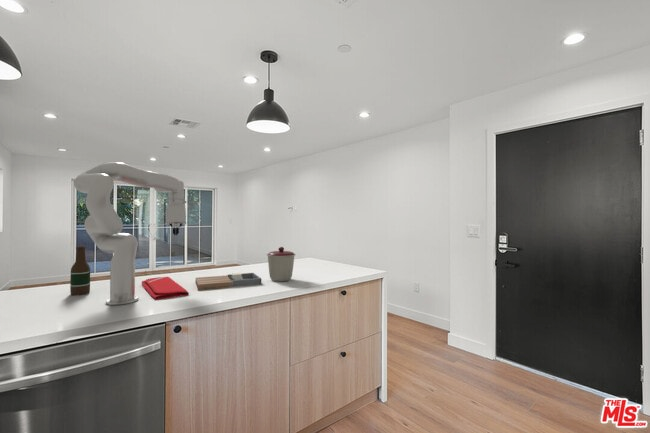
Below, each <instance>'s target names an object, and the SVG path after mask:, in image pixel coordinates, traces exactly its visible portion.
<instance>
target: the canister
mask: <svg viewBox="0 0 650 433" xmlns="http://www.w3.org/2000/svg"><path fill="white" fill-rule="evenodd" d="M277 249H278V250H274V251H269V252H268V253H267V254H266V256H267V263H268V273H269V278H270V280H271V281H273V282H277V283H279V282H281V283H282V282H289V281H290V280H291V279H292V277H293V272H294V263H295V256H296V253H294V252H293V251H289V250H285V248H284V247H283V246H279V247H278V248H277Z"/></svg>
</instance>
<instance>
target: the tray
mask: <svg viewBox="0 0 650 433" xmlns="http://www.w3.org/2000/svg"><path fill="white" fill-rule="evenodd" d="M241 274H242V278H243V280H233V279H232V273H229V274H227V276H228V277H229V278H230V280H231V281H232V288H237V287H238V288H239V287H246V286H249V287H250V286H257V285H258V286H259V285H262V277H260V276H259V275H257V274H256V273H254V272H246V273H241Z"/></svg>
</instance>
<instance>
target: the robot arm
mask: <svg viewBox="0 0 650 433" xmlns="http://www.w3.org/2000/svg"><path fill="white" fill-rule="evenodd" d="M114 182H122V183H124V184H129V185H133V186H136V187H139V188H140V187H141V188H149V189H150V188H153V190H154V191H156V192H158V193H168V204H167V205H166V210H165V223H164V224H165V225H166V226H170V227H171V228H172V234H173V236H178V235H179V233H180V228H181V227H182V226H185V225H187V211H186V205H185V204H187V200H184V195H185V194H184V190H185V188H184V187H185V183H184V181H182V180H179V179H178V178H176V177H173V176H171V175H168V174H166V173H165V174H164V173H159V172H154V171H151V170H145V169H143V168H139V167H136V166H133V165H130V164H127V163H124V162H120V161H119V162H118V161H116V162H115V161H114V162H113V161H112V162H105V163H102V164H99V165H97V166H94V167H92V168H91V169H90V168H89V170H86V171H85V172H82V173H80V174H79V175H77V176H76V177H75V178H74V181H73V186H74V188H75V189H76V191H77V192H80V193H82V194H87V196H86V198H85V199H86V200H85V207H86V209H87V211H88V214H89V215H88V216H87V217H86V219H85V220H84V229H85V231H86V233H87V234H88V236H89V237H90V239H91V240H92V241H93V243H94V244H95V246H96V247H97V248H98V249H99V250H100V251H102V253H107V254H113V255H112V257H111V260H110V268H109V271H110V274H109V276H110V277H109V278H110V279H109V284H110V285H109V291H110V292H109V298H107V299H106V300H105V304H106V305H109V306H112V305H113V306H116V305H118V306H119V305H127V304H131V303H136V302H137V301H138V300H139V296H137V295H135V293H136V292H135V291H136V285H135V284H136V279H135V278H136V255H137V249H138V245H139V243H138V239H137V237H136V236H135V235H133V234H131V233H128V232H127V233H126V232H122V231H123V230H124V223H123V221H122V219H121V218H120V216H119V214H118V213H117V211H116V210H115V208H114V207H113V205H112V203H111V201H110V199H111V198H110V197H111V194H112V191H113V188H114ZM175 223H176V224H177V225H176V226H175Z"/></svg>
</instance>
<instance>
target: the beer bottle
mask: <svg viewBox="0 0 650 433" xmlns="http://www.w3.org/2000/svg"><path fill="white" fill-rule="evenodd" d="M75 249H76V253H75V261H74V262H73V264H72V266H71V269H70V279H69V280H70V282H69V283H70V284H69V285H70V286H69V288H70V289H69V291H70V295H71V296H83V295H87V294H89V293H90V292H91V267H90V264H88V262H87V260H86V259H87V258H86V245H78V246H77V245H76V247H75Z"/></svg>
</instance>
